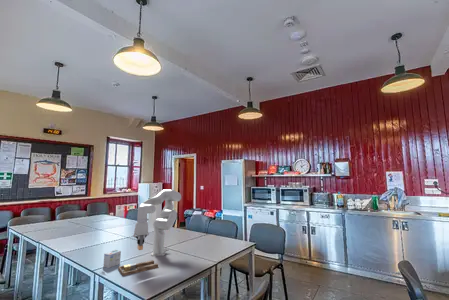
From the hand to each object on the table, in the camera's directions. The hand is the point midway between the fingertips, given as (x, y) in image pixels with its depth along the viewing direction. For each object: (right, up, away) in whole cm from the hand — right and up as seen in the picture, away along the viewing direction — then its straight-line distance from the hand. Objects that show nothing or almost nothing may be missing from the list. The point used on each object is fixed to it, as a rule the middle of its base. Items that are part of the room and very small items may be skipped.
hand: (140, 243), depth 184 cm
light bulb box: (-20, -15, -7) cm, 26 cm away
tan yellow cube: (-3, -13, -18) cm, 22 cm away
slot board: (+3, -14, -13) cm, 20 cm away
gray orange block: (-1, -4, 0) cm, 4 cm away
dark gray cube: (0, -13, -16) cm, 20 cm away
